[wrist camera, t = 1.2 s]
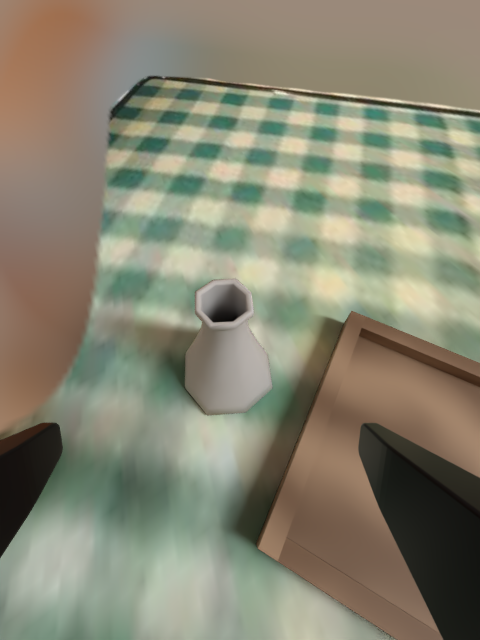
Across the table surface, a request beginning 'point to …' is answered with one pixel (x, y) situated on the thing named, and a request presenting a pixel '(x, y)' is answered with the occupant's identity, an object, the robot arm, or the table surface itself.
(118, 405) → the table surface
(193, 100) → the table surface
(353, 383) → the walnut tray
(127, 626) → the table surface
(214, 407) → the flask
